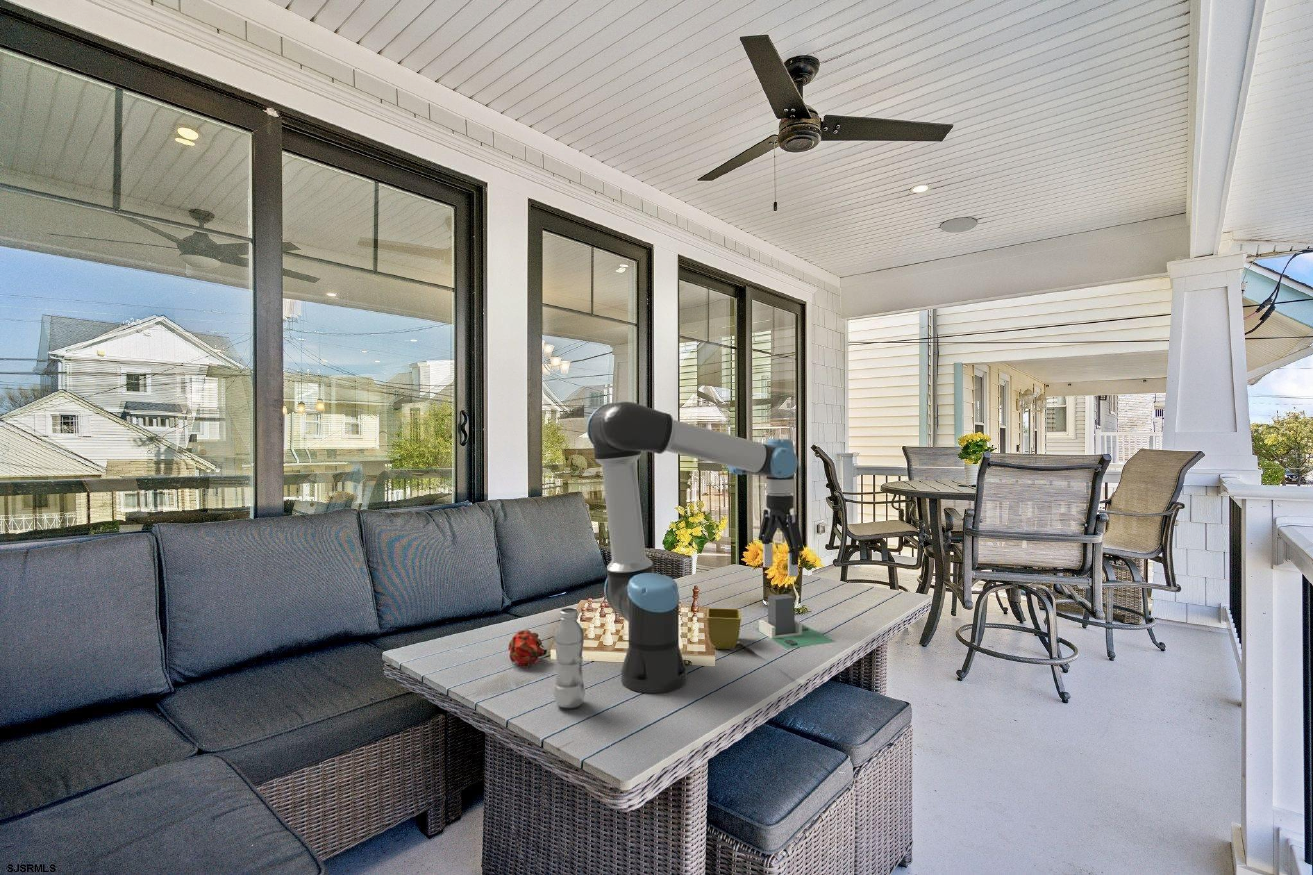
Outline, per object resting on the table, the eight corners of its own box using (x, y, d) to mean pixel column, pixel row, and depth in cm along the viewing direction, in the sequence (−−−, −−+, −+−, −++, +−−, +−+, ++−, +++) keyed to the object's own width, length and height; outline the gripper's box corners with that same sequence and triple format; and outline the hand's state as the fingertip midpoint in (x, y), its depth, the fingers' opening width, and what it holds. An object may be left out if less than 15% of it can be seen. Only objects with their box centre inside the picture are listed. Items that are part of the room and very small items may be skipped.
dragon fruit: (519, 660, 158) (537, 682, 148) (494, 647, 153) (510, 669, 143) (539, 631, 159) (557, 651, 149) (514, 617, 155) (532, 637, 145)
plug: (775, 636, 167) (775, 599, 167) (768, 631, 170) (768, 596, 170) (796, 633, 169) (796, 597, 169) (788, 628, 173) (788, 593, 173)
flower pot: (739, 641, 166) (739, 608, 166) (741, 652, 158) (741, 618, 158) (707, 640, 167) (707, 607, 167) (707, 651, 158) (706, 617, 158)
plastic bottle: (558, 714, 123) (558, 616, 123) (550, 701, 130) (550, 607, 129) (589, 708, 126) (588, 612, 126) (579, 696, 132) (579, 604, 132)
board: (787, 653, 157) (787, 636, 157) (754, 632, 173) (754, 618, 173) (836, 645, 162) (836, 630, 162) (799, 626, 178) (799, 612, 178)
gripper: (817, 498, 159) (817, 580, 159) (768, 490, 182) (769, 561, 182) (792, 499, 156) (792, 582, 157) (746, 490, 179) (746, 563, 180)
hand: (780, 571), depth 169 cm, fingers open, 12 cm apart
